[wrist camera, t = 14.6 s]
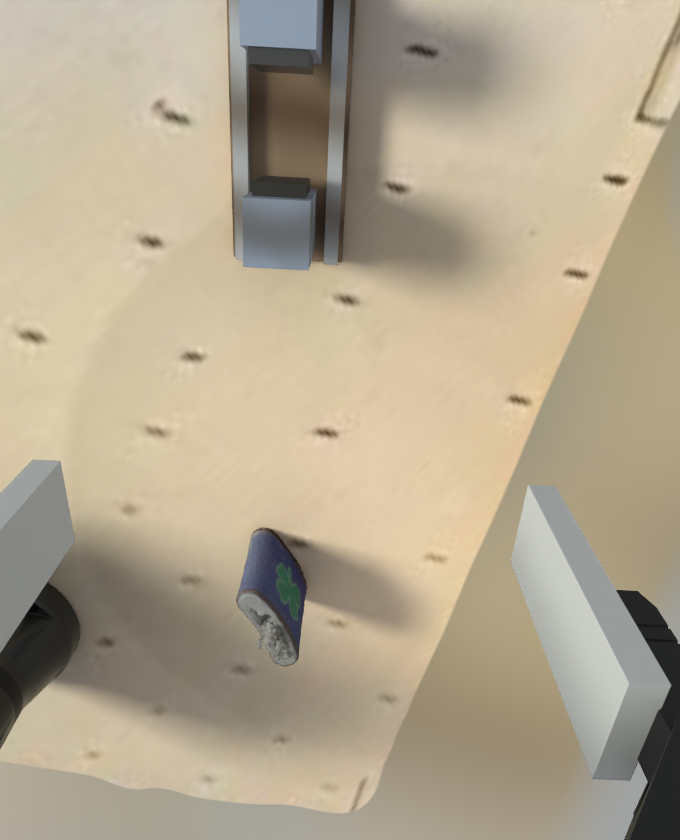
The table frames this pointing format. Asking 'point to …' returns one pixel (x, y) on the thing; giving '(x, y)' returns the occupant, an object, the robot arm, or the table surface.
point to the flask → (273, 595)
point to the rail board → (290, 150)
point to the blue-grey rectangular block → (282, 34)
